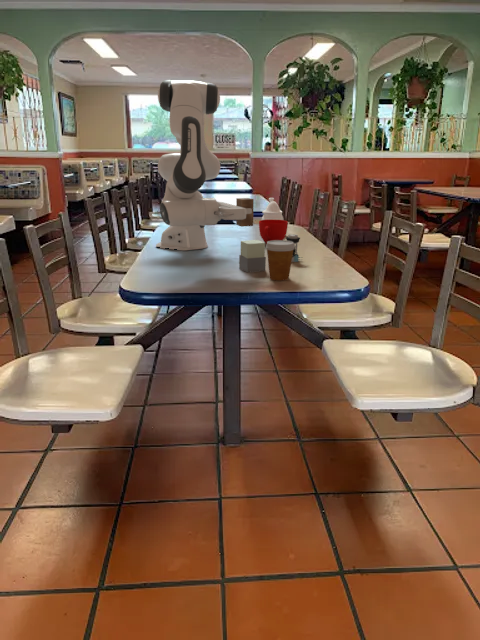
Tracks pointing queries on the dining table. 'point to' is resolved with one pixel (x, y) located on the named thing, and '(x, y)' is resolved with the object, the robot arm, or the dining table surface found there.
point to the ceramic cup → (272, 229)
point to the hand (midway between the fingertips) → (247, 209)
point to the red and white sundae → (272, 211)
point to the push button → (295, 240)
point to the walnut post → (249, 217)
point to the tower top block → (252, 249)
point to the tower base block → (252, 264)
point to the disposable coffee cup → (279, 259)
